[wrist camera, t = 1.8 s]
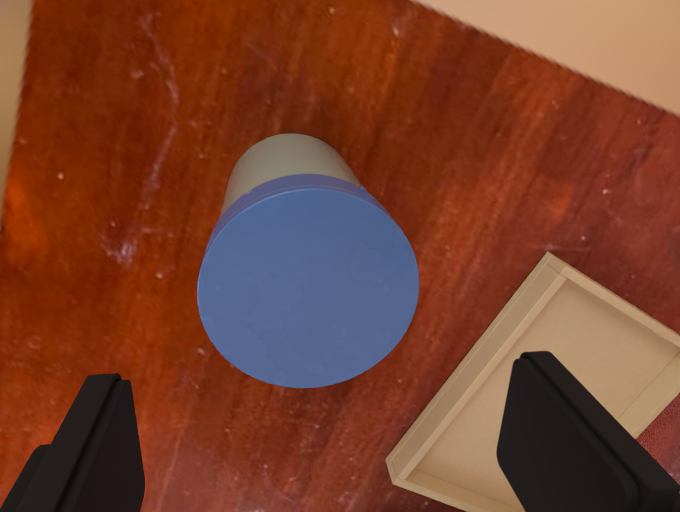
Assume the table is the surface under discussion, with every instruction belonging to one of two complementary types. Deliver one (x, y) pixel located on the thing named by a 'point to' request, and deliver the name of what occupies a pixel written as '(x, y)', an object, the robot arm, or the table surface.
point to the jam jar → (284, 163)
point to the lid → (307, 282)
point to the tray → (494, 375)
